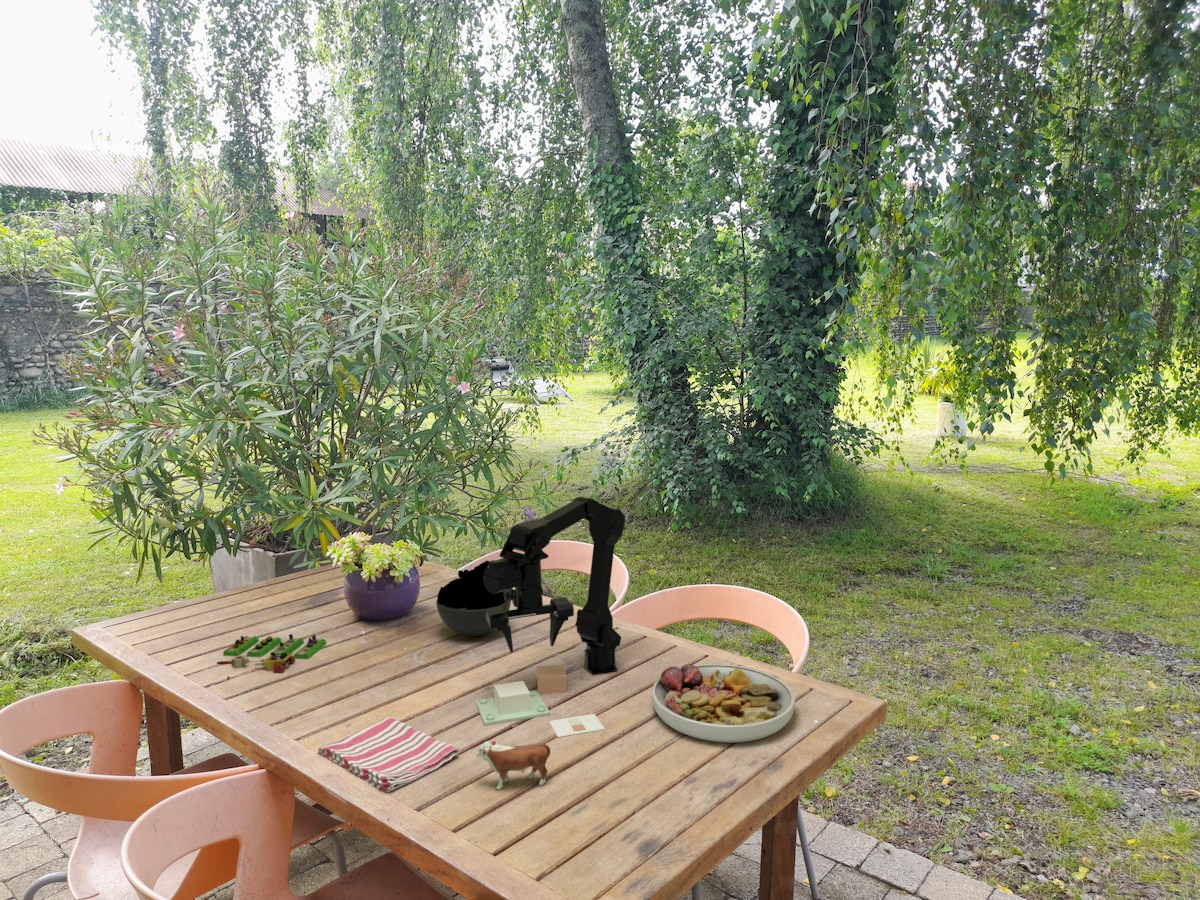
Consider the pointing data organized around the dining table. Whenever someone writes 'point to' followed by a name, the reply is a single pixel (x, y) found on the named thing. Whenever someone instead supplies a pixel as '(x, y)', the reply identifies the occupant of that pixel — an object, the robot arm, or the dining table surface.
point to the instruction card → (576, 725)
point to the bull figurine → (515, 759)
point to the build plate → (493, 716)
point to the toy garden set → (277, 657)
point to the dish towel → (389, 754)
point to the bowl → (722, 702)
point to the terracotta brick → (551, 679)
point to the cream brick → (512, 697)
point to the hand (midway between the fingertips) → (531, 648)
